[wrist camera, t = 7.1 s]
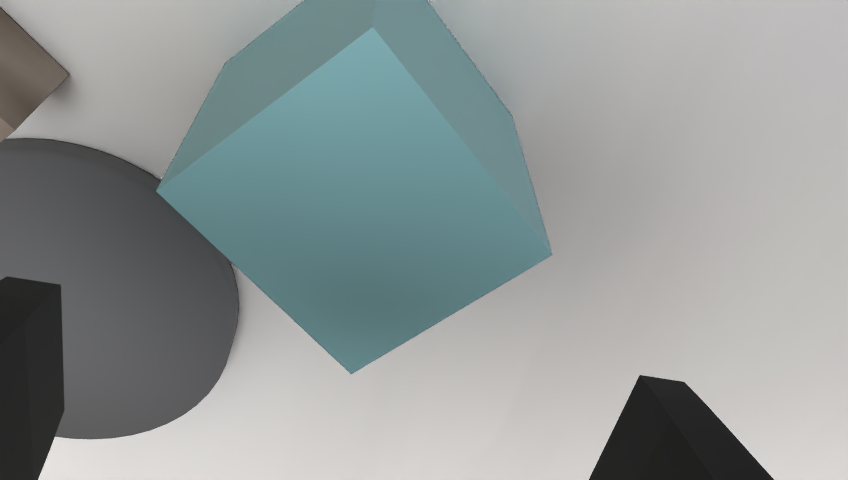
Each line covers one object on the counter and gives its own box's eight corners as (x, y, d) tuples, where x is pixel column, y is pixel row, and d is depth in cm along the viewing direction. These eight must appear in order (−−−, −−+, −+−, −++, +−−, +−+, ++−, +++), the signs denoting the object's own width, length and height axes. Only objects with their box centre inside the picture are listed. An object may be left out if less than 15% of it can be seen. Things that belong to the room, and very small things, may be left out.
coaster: (307, 316, 22) (303, 339, 21) (86, 456, 24) (75, 482, 24) (43, 64, 18) (25, 81, 17) (-186, 265, 20) (-211, 288, 20)
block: (511, 114, 19) (552, 254, 14) (363, 214, 20) (351, 374, 15) (381, -62, 17) (373, 27, 12) (225, 63, 18) (156, 190, 13)
